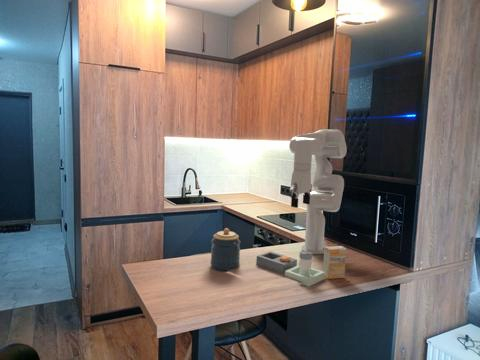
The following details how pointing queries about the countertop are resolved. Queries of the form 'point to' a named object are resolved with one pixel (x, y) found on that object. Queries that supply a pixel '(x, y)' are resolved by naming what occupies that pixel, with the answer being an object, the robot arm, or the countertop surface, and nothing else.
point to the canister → (225, 250)
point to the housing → (275, 262)
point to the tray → (308, 281)
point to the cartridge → (305, 263)
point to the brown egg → (285, 258)
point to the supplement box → (334, 262)
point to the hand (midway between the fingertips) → (300, 205)
